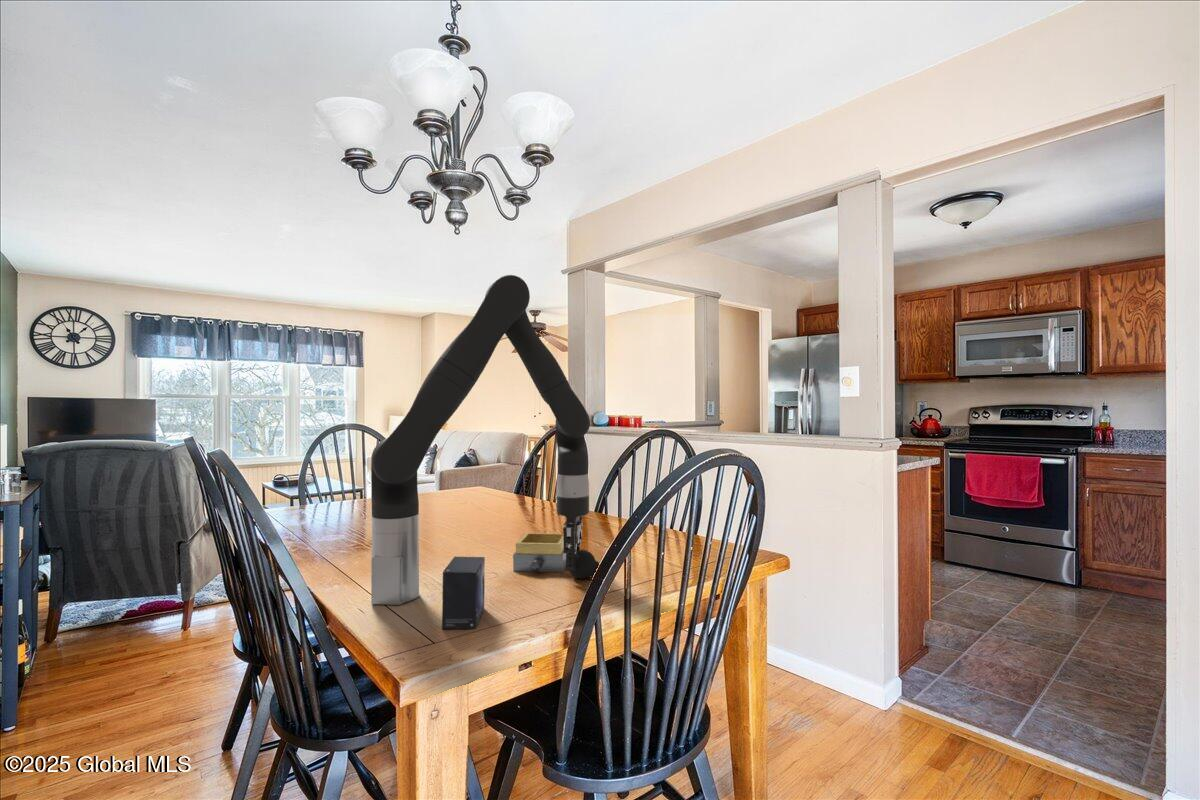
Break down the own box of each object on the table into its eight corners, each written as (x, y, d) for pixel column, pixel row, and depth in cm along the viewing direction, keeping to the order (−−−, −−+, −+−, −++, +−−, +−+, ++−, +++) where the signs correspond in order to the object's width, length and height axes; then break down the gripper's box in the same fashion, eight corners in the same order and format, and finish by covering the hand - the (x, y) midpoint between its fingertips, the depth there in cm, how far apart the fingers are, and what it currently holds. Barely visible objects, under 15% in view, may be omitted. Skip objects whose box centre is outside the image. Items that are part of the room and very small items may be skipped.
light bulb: (616, 561, 130) (574, 546, 130) (606, 589, 128) (564, 574, 128) (612, 559, 136) (572, 545, 136) (603, 586, 135) (563, 571, 134)
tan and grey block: (560, 576, 134) (560, 548, 134) (510, 574, 135) (510, 547, 135) (569, 558, 148) (569, 533, 148) (524, 557, 150) (524, 532, 150)
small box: (477, 629, 103) (477, 571, 103) (440, 630, 102) (440, 571, 102) (486, 608, 113) (486, 555, 113) (452, 609, 113) (452, 555, 113)
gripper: (585, 499, 125) (585, 576, 125) (592, 488, 139) (592, 557, 139) (551, 498, 125) (551, 575, 125) (561, 488, 140) (561, 557, 140)
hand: (573, 565), depth 132 cm, fingers closed on light bulb, 6 cm apart
